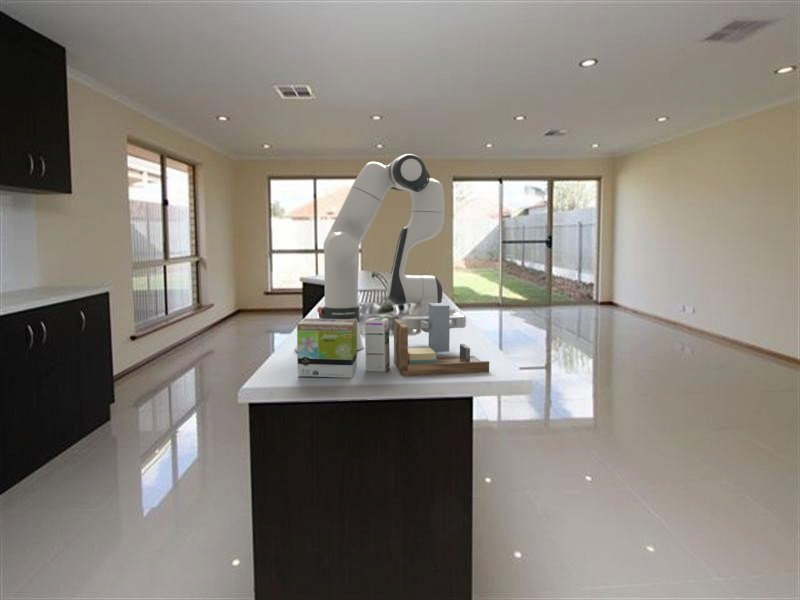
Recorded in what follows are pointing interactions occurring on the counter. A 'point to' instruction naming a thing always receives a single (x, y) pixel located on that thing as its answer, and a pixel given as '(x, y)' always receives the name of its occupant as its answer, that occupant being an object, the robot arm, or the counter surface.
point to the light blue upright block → (439, 327)
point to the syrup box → (377, 344)
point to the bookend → (466, 354)
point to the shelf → (440, 368)
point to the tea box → (327, 347)
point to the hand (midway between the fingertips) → (439, 325)
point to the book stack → (421, 356)
